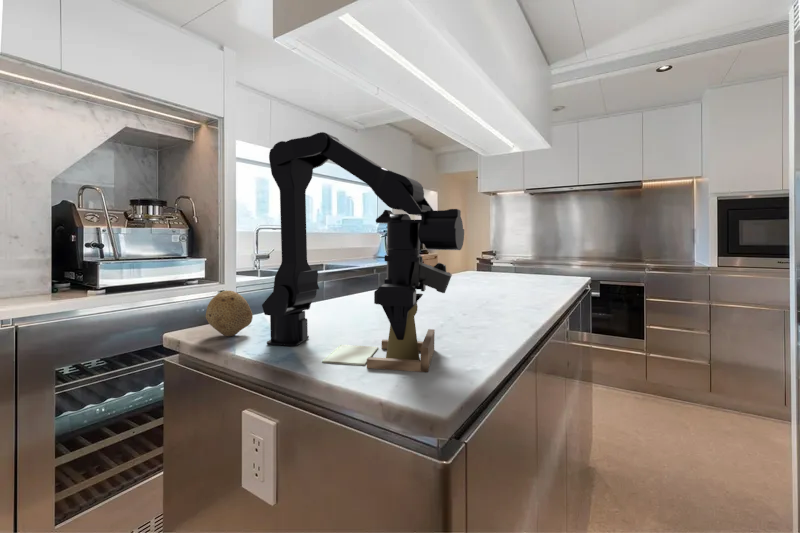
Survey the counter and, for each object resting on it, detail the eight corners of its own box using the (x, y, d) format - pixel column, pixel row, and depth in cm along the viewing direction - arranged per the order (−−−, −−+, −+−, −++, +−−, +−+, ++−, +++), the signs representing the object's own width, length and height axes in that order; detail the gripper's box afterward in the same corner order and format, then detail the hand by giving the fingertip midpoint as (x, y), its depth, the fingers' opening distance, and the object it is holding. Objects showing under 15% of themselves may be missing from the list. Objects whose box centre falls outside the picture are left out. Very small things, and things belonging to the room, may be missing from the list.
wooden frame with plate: (319, 364, 65) (319, 341, 64) (342, 344, 77) (342, 325, 76) (427, 372, 61) (428, 347, 61) (434, 349, 74) (434, 329, 73)
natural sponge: (196, 337, 82) (194, 291, 81) (233, 328, 89) (232, 286, 88) (222, 343, 77) (221, 294, 76) (259, 334, 85) (258, 289, 84)
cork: (406, 366, 64) (406, 301, 63) (378, 359, 68) (379, 298, 67) (425, 357, 69) (426, 297, 68) (399, 351, 73) (399, 294, 72)
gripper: (446, 252, 56) (444, 354, 58) (451, 248, 75) (450, 326, 76) (373, 251, 58) (373, 350, 59) (395, 247, 77) (395, 323, 78)
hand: (402, 336), depth 68 cm, fingers closed on cork, 4 cm apart
